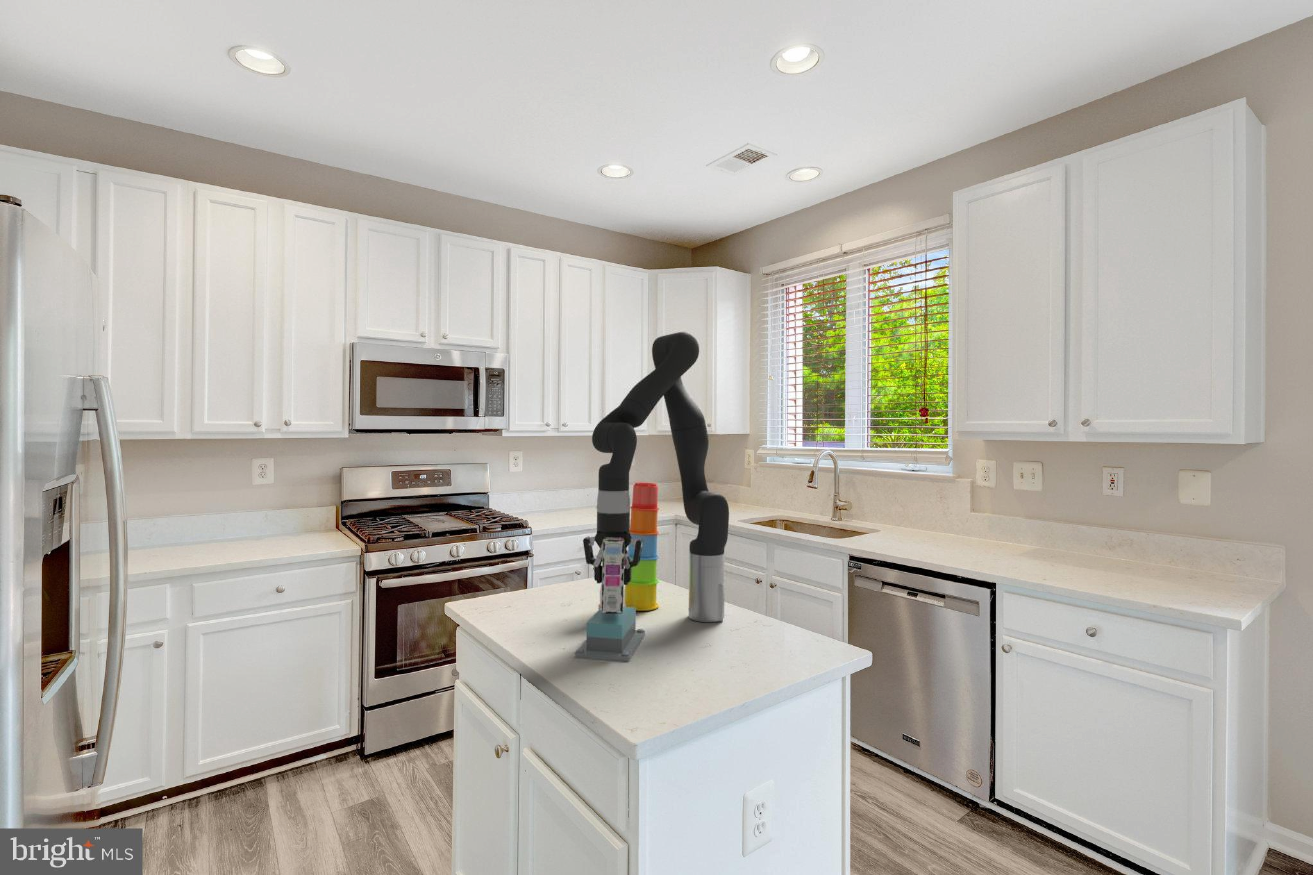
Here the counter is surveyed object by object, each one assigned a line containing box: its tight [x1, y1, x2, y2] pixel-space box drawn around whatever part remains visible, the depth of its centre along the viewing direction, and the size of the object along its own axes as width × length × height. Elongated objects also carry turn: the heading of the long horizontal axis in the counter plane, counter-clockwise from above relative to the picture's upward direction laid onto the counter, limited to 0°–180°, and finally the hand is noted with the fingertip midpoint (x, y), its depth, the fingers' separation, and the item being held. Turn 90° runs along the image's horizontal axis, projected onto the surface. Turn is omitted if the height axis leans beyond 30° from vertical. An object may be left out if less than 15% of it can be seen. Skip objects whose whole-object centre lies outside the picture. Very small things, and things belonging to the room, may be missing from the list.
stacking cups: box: [624, 482, 660, 612], centre depth 175 cm, size 10×10×35 cm
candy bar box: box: [601, 537, 625, 614], centre depth 143 cm, size 11×5×16 cm, turn 5°
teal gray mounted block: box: [574, 607, 646, 662], centre depth 143 cm, size 12×18×7 cm, turn 170°
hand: (612, 583), depth 143 cm, fingers closed on candy bar box, 5 cm apart
